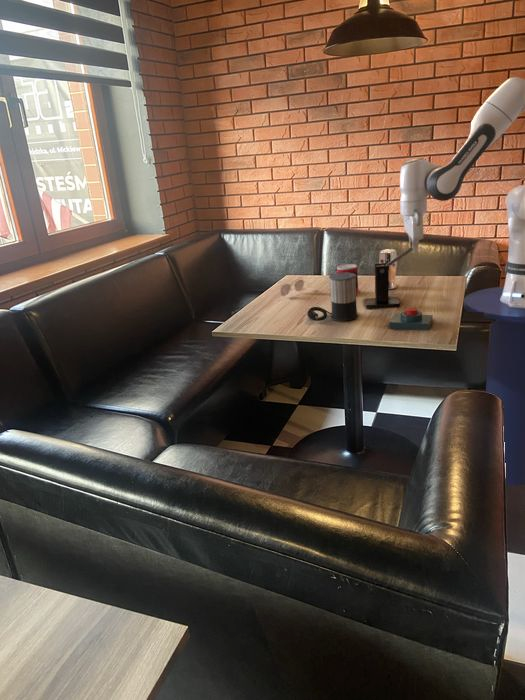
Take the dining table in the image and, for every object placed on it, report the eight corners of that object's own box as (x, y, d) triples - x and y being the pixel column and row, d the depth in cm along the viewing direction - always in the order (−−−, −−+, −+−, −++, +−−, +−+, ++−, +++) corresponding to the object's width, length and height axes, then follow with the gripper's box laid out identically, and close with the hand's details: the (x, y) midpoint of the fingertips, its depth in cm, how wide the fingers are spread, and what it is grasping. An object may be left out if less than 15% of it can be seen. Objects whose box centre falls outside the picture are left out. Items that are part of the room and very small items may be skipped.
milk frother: (363, 316, 185) (362, 274, 180) (328, 327, 178) (325, 284, 173) (337, 309, 197) (334, 269, 192) (302, 319, 189) (299, 278, 184)
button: (418, 312, 172) (418, 307, 172) (416, 316, 169) (416, 311, 169) (406, 312, 174) (406, 307, 173) (404, 315, 171) (404, 310, 170)
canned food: (339, 290, 220) (338, 264, 216) (359, 290, 218) (358, 263, 214) (336, 295, 213) (335, 268, 209) (357, 295, 211) (355, 268, 207)
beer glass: (386, 284, 222) (385, 248, 217) (400, 286, 218) (400, 249, 212) (376, 288, 218) (375, 252, 213) (391, 290, 213) (390, 253, 208)
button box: (432, 321, 174) (432, 309, 173) (428, 330, 167) (428, 318, 165) (395, 319, 179) (395, 308, 178) (389, 328, 172) (389, 316, 170)
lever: (417, 246, 191) (414, 241, 190) (420, 249, 186) (416, 243, 186) (379, 272, 196) (375, 267, 195) (380, 275, 191) (376, 270, 191)
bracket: (397, 299, 201) (397, 260, 196) (400, 306, 193) (400, 266, 187) (364, 301, 202) (363, 262, 197) (366, 308, 194) (365, 268, 189)
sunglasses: (304, 289, 227) (304, 278, 224) (317, 295, 221) (318, 284, 219) (278, 297, 219) (279, 285, 217) (292, 303, 213) (292, 291, 211)
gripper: (428, 211, 174) (428, 253, 179) (418, 204, 193) (418, 242, 198) (408, 213, 175) (408, 255, 180) (400, 206, 194) (401, 244, 199)
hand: (413, 248), depth 189 cm, fingers closed on lever, 5 cm apart
